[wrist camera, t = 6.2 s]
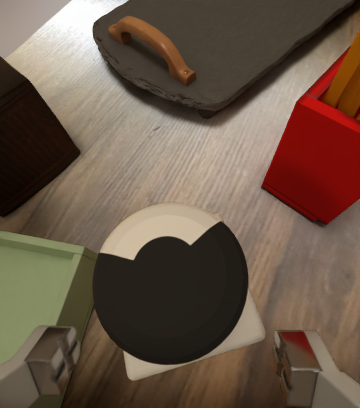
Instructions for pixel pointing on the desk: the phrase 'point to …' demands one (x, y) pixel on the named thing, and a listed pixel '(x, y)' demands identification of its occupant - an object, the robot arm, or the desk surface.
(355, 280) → the desk surface
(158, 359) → the medicine bottle
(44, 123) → the pepper mill
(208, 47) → the serving tray
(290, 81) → the desk surface
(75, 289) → the bin
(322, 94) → the french fries container
